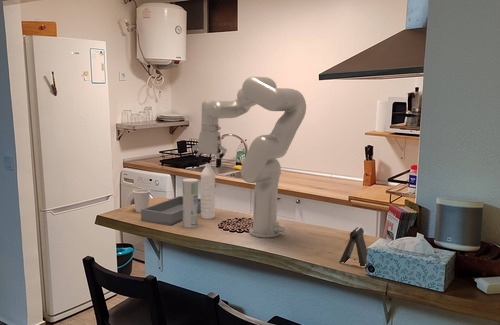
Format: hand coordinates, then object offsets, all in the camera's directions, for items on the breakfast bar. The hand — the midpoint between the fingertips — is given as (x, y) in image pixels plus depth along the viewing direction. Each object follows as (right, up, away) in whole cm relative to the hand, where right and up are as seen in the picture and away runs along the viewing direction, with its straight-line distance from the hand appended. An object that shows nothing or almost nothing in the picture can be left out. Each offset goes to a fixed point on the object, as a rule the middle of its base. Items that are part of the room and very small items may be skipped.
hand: (208, 166), depth 199 cm
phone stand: (+55, -33, -49) cm, 80 cm away
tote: (-16, -23, +5) cm, 28 cm away
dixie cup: (-33, -22, +11) cm, 41 cm away
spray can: (-7, -26, -11) cm, 29 cm away
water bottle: (0, -24, +3) cm, 24 cm away
